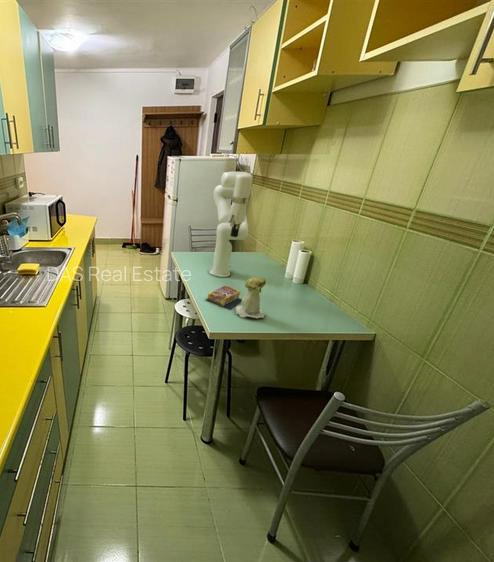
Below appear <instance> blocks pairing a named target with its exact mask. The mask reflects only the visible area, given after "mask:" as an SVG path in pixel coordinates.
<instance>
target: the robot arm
mask: <svg viewBox="0 0 494 562" xmlns="http://www.w3.org/2000/svg"><path fill="white" fill-rule="evenodd" d="M253 179H254V177H253V175H252V174H251V173H249V172H246V171H225V172H223V173H222V175H221V178H220V184H219V185H216V186H215V188H214V189H213V202H214V204H215V207H216V210H217V220H218V223H219V224H217V227H216V238H215V248H214V255H213V259H212V260H213V261H212V267H211V268H210V269H209V270H208V273H209V274H210V275H212V276H214V277H219V278H227V277H229V276H231V271H230V270H229V269H230V268H231V267H232V266H231V265H230V262H231V259H232V253H233V252H232V251H233V245H232V242H231V241H233V240H234V241H244V240H246V239H247V238H248V236H249V223H248V217H247V208H248V207H247V206H248V205H249V202H250V201H249V200H250V195H251V191H252V186H253ZM228 200H231V203H230V202H229V201H228Z"/></svg>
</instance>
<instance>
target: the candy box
mask: <svg viewBox="0 0 494 562" xmlns="http://www.w3.org/2000/svg"><path fill="white" fill-rule="evenodd" d="M240 294H241V290H238V289H235V288H233V287H231V286H228V285H223V286H221V287H219V288H217V289H214V290H211V291H210V292H208V294H207V298H206V300H209V301H212V302H214V303H216V304H215V305H217V304H218V305H217V306H219V305H220V307H222V306H224V305H226V304H228V303H230V302H232V301H234V300H236V299H238V298H239V299H240ZM209 301H208V302H209ZM212 302H211V303H212ZM214 303H213V304H214Z"/></svg>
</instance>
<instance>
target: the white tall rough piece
mask: <svg viewBox="0 0 494 562" xmlns="http://www.w3.org/2000/svg"><path fill="white" fill-rule="evenodd" d="M266 284H267V281H266V279H265V278H264V277H263V278H262V277H260V276H259V277H258V276H254V277H250V278H248V279H247V280H246V282H245V283H244V288H245V289H247V292H246V293H245V295H244V297H243V298H242V301H241V302H240V304H241V305H240V304H238V305H236V306H235V314H236V315H238V316H239V317H240V318H246V317H250V318H255V319H259V318H262V319H264V318H265V315H266V313H265V312H264V311H263V309H261V296H260V294H262V288H264V286H265V285H266Z"/></svg>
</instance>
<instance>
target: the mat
mask: <svg viewBox="0 0 494 562" xmlns="http://www.w3.org/2000/svg"><path fill="white" fill-rule="evenodd" d="M242 299H243V298H242ZM242 299H241V298H240V297H239V298H238V299H236V300H234V301H232V302H230V303H228V304H226V305H224V306H220V305H218V304H216V303H214V302H212V301H209V300H207V299H206V301H207V302H209V303H211V304H214V305H217V306H220V307H222V308H224V309H228V310H232V309H233V308H235V307H236V306H238V305H240V304H241V301H242Z"/></svg>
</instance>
